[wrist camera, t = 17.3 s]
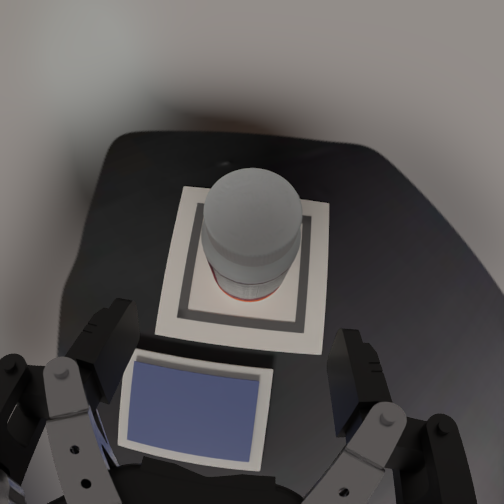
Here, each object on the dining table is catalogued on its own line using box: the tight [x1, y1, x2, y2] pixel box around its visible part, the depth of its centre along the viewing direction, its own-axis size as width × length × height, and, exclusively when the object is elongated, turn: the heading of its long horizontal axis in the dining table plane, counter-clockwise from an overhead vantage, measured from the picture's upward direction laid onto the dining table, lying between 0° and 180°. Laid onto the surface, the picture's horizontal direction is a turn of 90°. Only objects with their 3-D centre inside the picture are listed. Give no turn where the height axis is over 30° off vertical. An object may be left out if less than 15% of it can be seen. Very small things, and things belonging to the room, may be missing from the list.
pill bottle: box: [201, 168, 302, 302], centre depth 21 cm, size 6×6×11 cm
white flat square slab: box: [155, 186, 329, 355], centre depth 26 cm, size 14×14×1 cm
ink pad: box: [118, 348, 273, 471], centre depth 22 cm, size 12×9×2 cm
